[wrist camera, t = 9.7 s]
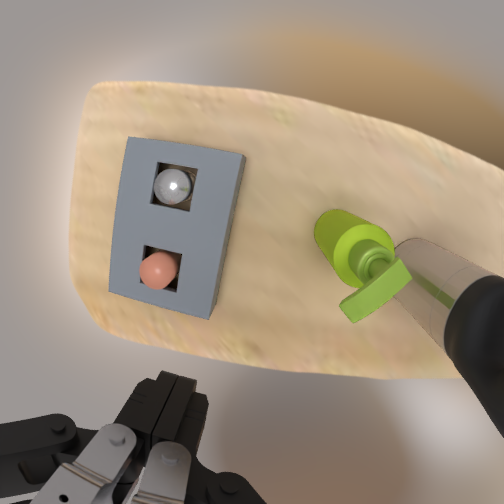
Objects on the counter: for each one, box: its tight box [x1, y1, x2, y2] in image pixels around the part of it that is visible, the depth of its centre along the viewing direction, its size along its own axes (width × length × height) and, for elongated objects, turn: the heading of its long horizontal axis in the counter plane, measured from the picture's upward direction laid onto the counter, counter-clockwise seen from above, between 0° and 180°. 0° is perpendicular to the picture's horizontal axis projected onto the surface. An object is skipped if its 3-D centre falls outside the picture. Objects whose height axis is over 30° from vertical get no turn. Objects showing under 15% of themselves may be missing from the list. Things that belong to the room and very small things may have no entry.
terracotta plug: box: [139, 249, 182, 290], centre depth 37 cm, size 4×4×5 cm
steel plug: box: [154, 169, 196, 204], centre depth 35 cm, size 4×4×5 cm
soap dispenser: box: [314, 209, 412, 323], centre depth 29 cm, size 6×7×20 cm
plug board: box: [109, 137, 246, 320], centre depth 37 cm, size 14×20×5 cm
